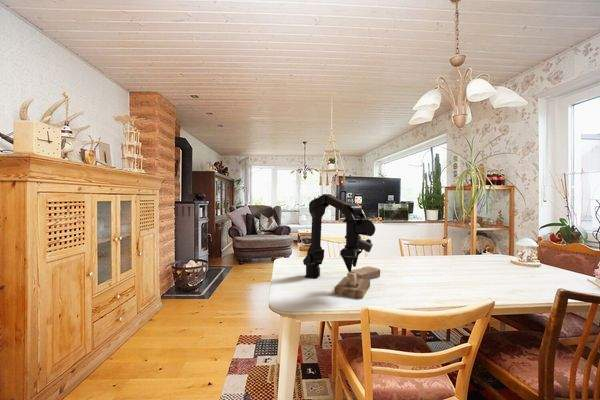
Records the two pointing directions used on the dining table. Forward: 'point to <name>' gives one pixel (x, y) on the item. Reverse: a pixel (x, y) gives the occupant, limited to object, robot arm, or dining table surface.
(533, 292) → the dining table surface
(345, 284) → the seat board
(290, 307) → the dining table surface
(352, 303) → the dining table surface
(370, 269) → the brick
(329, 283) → the dining table surface
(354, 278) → the peg
